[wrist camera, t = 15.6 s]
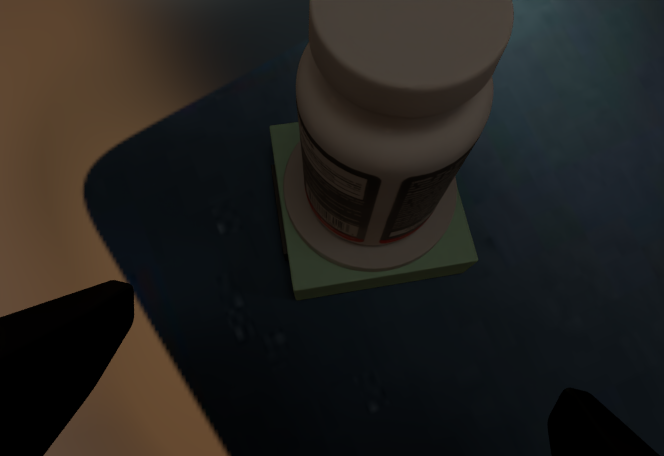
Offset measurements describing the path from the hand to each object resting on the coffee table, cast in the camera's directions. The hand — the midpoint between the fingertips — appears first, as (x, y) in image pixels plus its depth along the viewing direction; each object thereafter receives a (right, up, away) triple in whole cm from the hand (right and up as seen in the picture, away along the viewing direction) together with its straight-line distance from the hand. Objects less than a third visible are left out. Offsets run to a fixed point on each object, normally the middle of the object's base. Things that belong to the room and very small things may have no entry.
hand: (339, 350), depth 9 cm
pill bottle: (+2, +4, +10) cm, 11 cm away
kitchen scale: (+1, +3, +13) cm, 13 cm away
